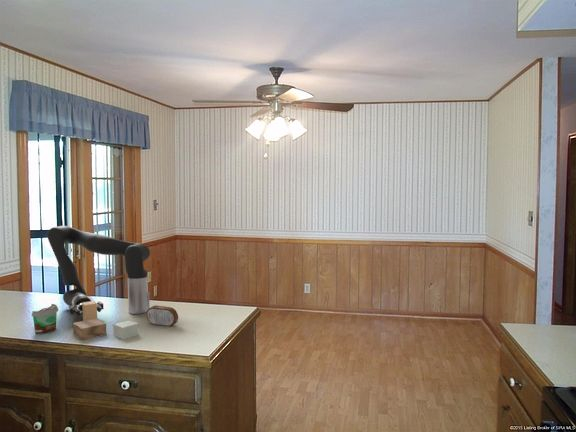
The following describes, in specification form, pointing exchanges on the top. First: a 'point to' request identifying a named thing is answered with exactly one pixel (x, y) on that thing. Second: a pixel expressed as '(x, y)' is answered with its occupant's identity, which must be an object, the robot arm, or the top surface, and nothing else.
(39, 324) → the food container
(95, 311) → the ochre pillar
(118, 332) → the grey block
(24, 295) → the top surface
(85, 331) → the walnut block
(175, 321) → the tin
